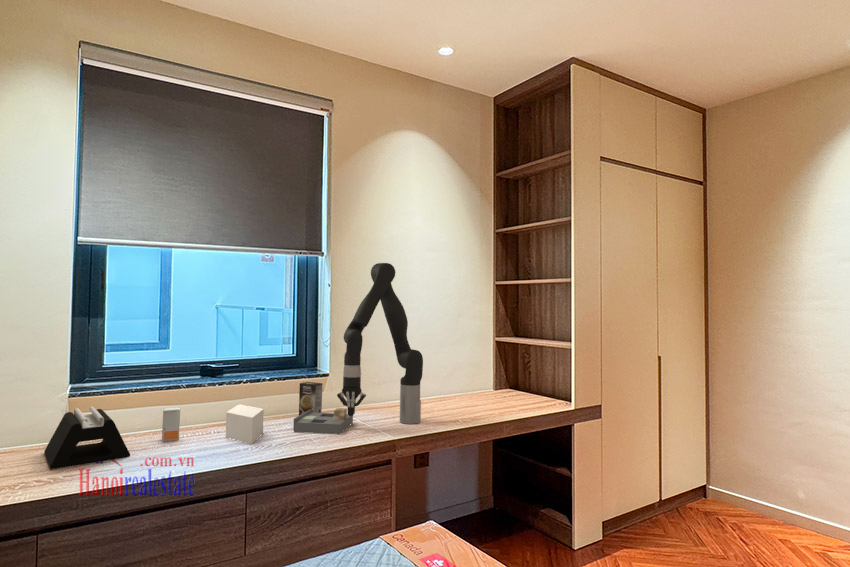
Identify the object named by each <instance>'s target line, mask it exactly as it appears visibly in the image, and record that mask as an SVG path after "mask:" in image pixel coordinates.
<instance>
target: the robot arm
mask: <svg viewBox="0 0 850 567" xmlns="http://www.w3.org/2000/svg"><path fill="white" fill-rule="evenodd" d="M370 276H371V279H372V282H373V284H372V286H371V288H370V290H369V291H368V293H367V294H366V295H365V297H364V298H363V299H362V300H361V302H360V303H359V306H358V308H357V310H356V312H355V314H354V316H353V318H352V320H351V321H350V323H349V324H348V326H347V327H346V329H345V331H344V334H343V341H344V343H346V351H345V353H344V356H343V358H344V359H343V362H344V363H343V372H342V374H343V376H342V389H341V391H340V392H339V393H337V395H336V397H337V398H338V399H339V400H340V402H341V403H342V405H343V406H346V408H347V414H348V415H349V416H353V417H354V415H355V412H356V411H355V410H356V407H358V406H359V405H360V404H361V403H362V401H363V400H364V399H365V398H366V397H367V394H366V393H363V392H362V388H361V386H362V385H361V384H362V383H361V382H362V381H361V380H362V379H361V378H362V376H361V375H362V369H361V359H362V358H361V354H362V348H363V347H362V346H363V340H364V338H363V334H362V333H363V331H364V329H365V328H366V327H368V325H369V323H370V322H371V318H372V316H373V314H374V312H375V310H376V308H377V307H378V304H379V302H380V303H381V306H382V310H383V312H384V317H385V320H386V323H387V325H388V329H389V331H390V332H389V333H390V334H391V338H392V342H393V344H394V345H393V346H394V350H395V355H396V360H397V363H398V364H399V366H400V367H401V368H403V369H405V372H404V376H402V377H401V378H400V384H399V386H400V390H399V395H400V396H399V422H400V423H401V424H406V425H411V424H412V425H417V424H420V422H421V418H422V416H421V414H422V412H421V411H422V410H421V409H422V400H421V381H422V378H423V368H424V359H423V355H422V353H421V351H419V350H418V349H412V348H411V346H410V344H409V340H408V334H407V333H408V327H409V326H408V317H407V314H406V310H405V308H404V305H403V304H402V302H401V300H400V299H399V297H398V295H397V294H396V292H395V290H394V288H393V284H392V283H393V281H394V279H395V277H396V269H395V267H394V266H393V264H392V263H388V262H378V263H375V264H374V265H372V267H371V269H370ZM358 397H359V399H358V400H357V398H358ZM356 401H357V402H356Z"/></svg>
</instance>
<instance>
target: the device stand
mask: <svg viewBox="0 0 850 567" xmlns="http://www.w3.org/2000/svg"><path fill="white" fill-rule="evenodd" d="M88 410H89V411H90V413H89V414H84V413H83V412H82V411H81V410H80V408H78V407H74V409H73V412H71V411H66V412H65V413H64V414H63V416H62V417H61V420H60V422H59V424H58V426H57V427H56V429H55V431H54V432H53V434H52V436H51V438H50V440H49V442H48V443H47V446H46V447H45V450H44V455H45V458H46V461H47V464H48V468H49V469H50V470H55V469H56V470H57V469H63V468H70V467H74V466H75V467H76V466H81V465H88V464H94V463H99V462H106V461H112V460H119V459H124V458H125V459H126V458H129V457H130V456H131V453H130V451H129V449H128V448H127V445H126V443H125V441H124V439H123V438H122V435H121V433H120V431H119V429H118V427H117V425H116V423H115V422H114V420H113V419H112V418H111V417H110V416H109V415H108V414H107V413H106V412H105V411H104V410H103V409H101V408H97V409H96V408H95V407H94V406H89V407H88ZM96 440H97V441H98V440H101V441H100V442H94V443H86V444H79V443H81V442H88V441H89V442H91V441H96ZM78 444H79V445H78Z"/></svg>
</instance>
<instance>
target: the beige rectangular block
mask: <svg viewBox="0 0 850 567" xmlns="http://www.w3.org/2000/svg"><path fill="white" fill-rule="evenodd" d="M264 410H265V409H264V408H260V407H254V406H249V405H245V404H240V403H239V404H237V405H235V406H234V407H232V408H231V409H229V410H228V411H226V414H225V438H226V439H229V438H231V439H230V440H232V439H235V440H234V441H236V440H239V441H238V442H240V441H242V442H241V443H244V442H246V443H245V444H248V443H251V444H250V445H253V444H254V443H255V442H256V441H257V440H258V439H259V438H260V437H261V436H262V435H263V434H264V413H265V412H264ZM262 433H263V434H262ZM261 434H262V435H261ZM260 435H261V436H260ZM259 436H260V437H259ZM258 437H259V438H258ZM257 438H258V439H257ZM256 439H257V440H256ZM255 440H256V441H255ZM254 441H255V442H254ZM253 442H254V443H253ZM252 443H253V444H252Z"/></svg>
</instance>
